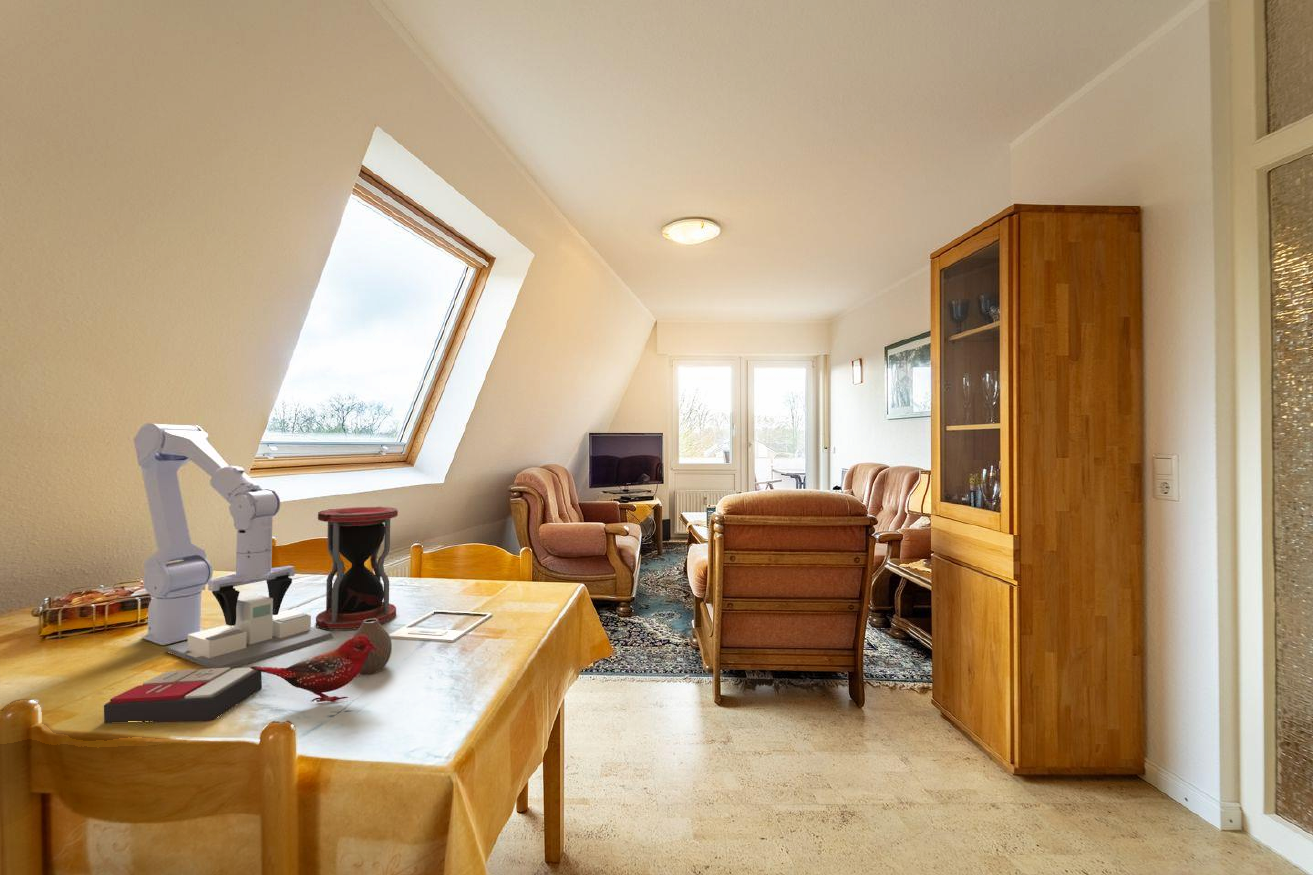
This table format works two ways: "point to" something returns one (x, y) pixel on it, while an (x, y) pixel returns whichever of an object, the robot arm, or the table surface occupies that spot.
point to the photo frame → (433, 630)
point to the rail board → (231, 648)
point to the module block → (255, 617)
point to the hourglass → (357, 567)
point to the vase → (380, 640)
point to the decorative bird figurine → (327, 668)
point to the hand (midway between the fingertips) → (252, 619)
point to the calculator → (184, 696)
